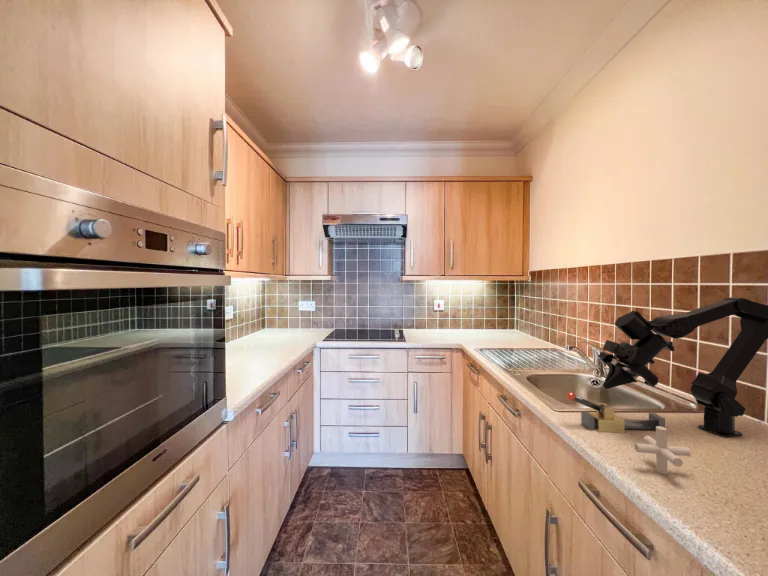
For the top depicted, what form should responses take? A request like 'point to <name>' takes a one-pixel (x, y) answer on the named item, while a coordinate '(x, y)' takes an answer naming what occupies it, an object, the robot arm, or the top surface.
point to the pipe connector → (662, 450)
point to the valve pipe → (617, 421)
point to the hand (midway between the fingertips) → (604, 387)
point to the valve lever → (584, 402)
